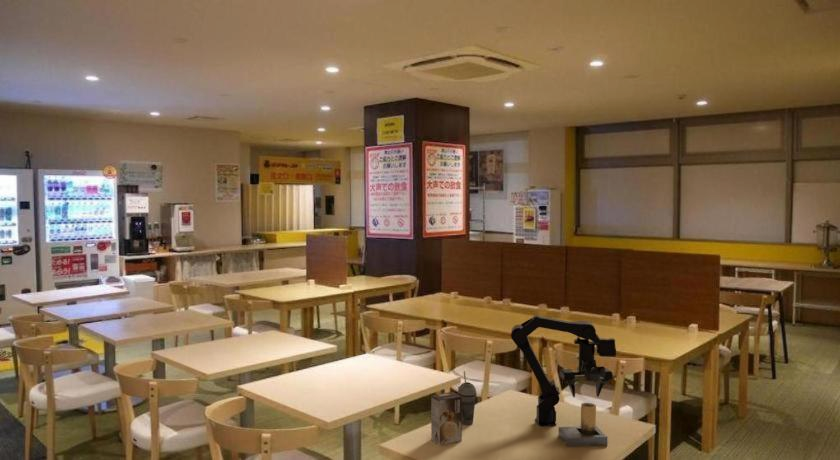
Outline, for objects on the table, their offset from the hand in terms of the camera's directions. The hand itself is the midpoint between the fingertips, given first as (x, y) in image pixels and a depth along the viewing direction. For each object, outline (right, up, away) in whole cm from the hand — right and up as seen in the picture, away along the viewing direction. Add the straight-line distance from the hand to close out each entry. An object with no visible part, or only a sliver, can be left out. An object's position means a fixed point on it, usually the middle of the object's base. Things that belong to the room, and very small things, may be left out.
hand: (585, 396), depth 224 cm
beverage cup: (-44, -11, +2) cm, 46 cm away
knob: (-3, -12, -13) cm, 17 cm away
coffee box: (-53, -12, -14) cm, 56 cm away
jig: (-5, -12, -13) cm, 18 cm away
